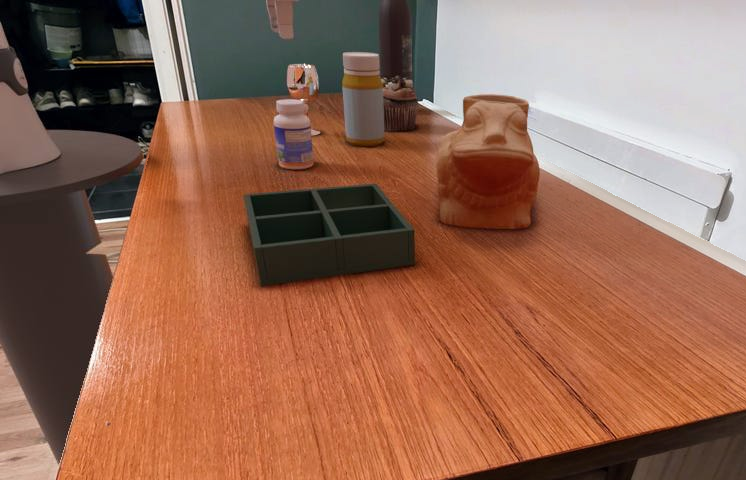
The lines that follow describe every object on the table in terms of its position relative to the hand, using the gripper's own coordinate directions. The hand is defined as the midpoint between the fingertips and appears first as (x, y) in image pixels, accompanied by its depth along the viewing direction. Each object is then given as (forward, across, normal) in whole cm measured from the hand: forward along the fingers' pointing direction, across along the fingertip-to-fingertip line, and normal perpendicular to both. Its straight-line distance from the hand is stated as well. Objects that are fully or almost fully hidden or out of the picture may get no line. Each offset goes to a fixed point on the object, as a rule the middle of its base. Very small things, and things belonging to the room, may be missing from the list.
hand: (282, 35), depth 78 cm
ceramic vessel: (+19, +26, +22) cm, 39 cm away
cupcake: (+19, -22, +23) cm, 37 cm away
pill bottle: (+19, +1, 0) cm, 19 cm away
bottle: (+19, -11, +14) cm, 26 cm away
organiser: (+19, +33, -2) cm, 38 cm away
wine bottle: (+19, -38, +28) cm, 51 cm away
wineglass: (+19, -20, +5) cm, 28 cm away
